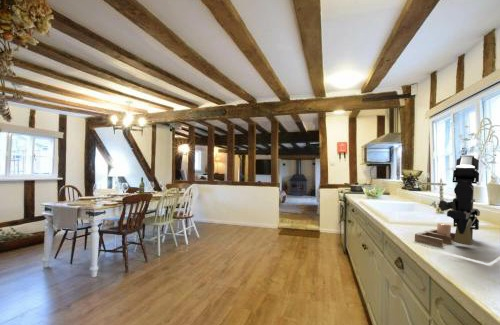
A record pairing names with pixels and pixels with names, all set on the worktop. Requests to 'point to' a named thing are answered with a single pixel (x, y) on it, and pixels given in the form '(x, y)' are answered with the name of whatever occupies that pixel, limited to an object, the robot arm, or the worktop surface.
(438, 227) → the block
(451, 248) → the worktop surface
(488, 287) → the worktop surface
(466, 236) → the cork
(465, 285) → the worktop surface
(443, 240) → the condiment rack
